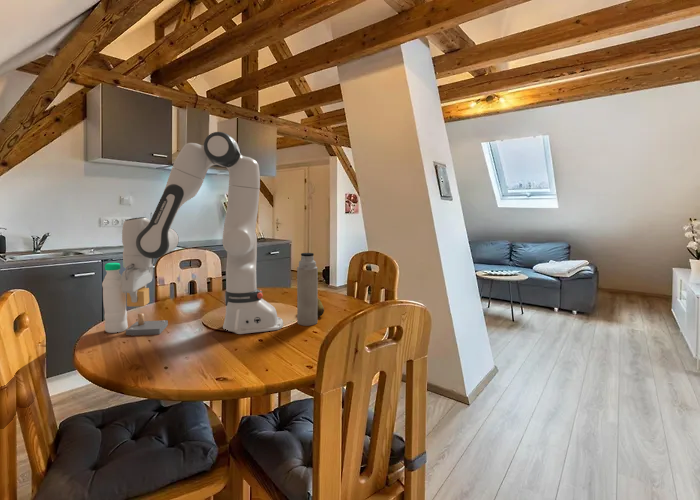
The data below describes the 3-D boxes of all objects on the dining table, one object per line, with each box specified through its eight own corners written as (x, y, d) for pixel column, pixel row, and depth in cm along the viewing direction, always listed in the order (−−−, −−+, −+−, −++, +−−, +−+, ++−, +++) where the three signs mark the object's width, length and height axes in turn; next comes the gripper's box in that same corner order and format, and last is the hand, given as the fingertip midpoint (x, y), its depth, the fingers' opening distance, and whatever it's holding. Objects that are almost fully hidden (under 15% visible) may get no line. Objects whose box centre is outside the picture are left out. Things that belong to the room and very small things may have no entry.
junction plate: (167, 325, 144) (167, 310, 143) (159, 334, 134) (158, 317, 133) (136, 326, 142) (136, 311, 141) (126, 335, 132) (125, 319, 131)
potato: (305, 319, 153) (304, 300, 152) (301, 310, 166) (301, 293, 165) (325, 318, 155) (325, 299, 154) (320, 309, 168) (320, 292, 167)
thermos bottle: (302, 318, 154) (302, 251, 151) (320, 320, 152) (320, 252, 148) (293, 324, 147) (293, 253, 143) (312, 326, 144) (312, 254, 141)
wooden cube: (149, 302, 140) (148, 287, 140) (144, 306, 135) (143, 291, 134) (133, 302, 139) (132, 288, 139) (127, 306, 134) (126, 291, 133)
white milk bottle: (117, 334, 133) (112, 265, 130) (100, 332, 135) (95, 264, 132) (132, 328, 140) (128, 262, 137) (116, 326, 141) (112, 261, 138)
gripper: (135, 266, 126) (137, 306, 127) (155, 258, 146) (156, 292, 147) (115, 266, 125) (117, 307, 126) (138, 258, 144) (139, 293, 146)
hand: (138, 299), depth 137 cm, fingers closed on wooden cube, 6 cm apart
